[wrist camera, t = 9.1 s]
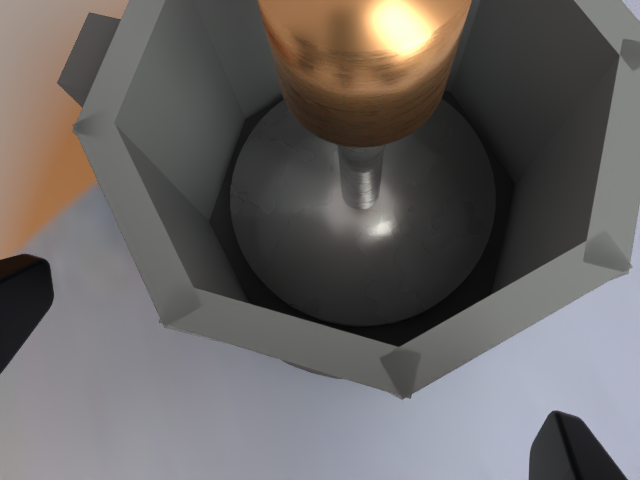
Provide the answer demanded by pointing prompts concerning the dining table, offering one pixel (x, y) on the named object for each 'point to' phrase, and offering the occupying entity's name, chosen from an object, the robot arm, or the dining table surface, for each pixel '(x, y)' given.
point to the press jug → (460, 92)
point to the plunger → (363, 163)
